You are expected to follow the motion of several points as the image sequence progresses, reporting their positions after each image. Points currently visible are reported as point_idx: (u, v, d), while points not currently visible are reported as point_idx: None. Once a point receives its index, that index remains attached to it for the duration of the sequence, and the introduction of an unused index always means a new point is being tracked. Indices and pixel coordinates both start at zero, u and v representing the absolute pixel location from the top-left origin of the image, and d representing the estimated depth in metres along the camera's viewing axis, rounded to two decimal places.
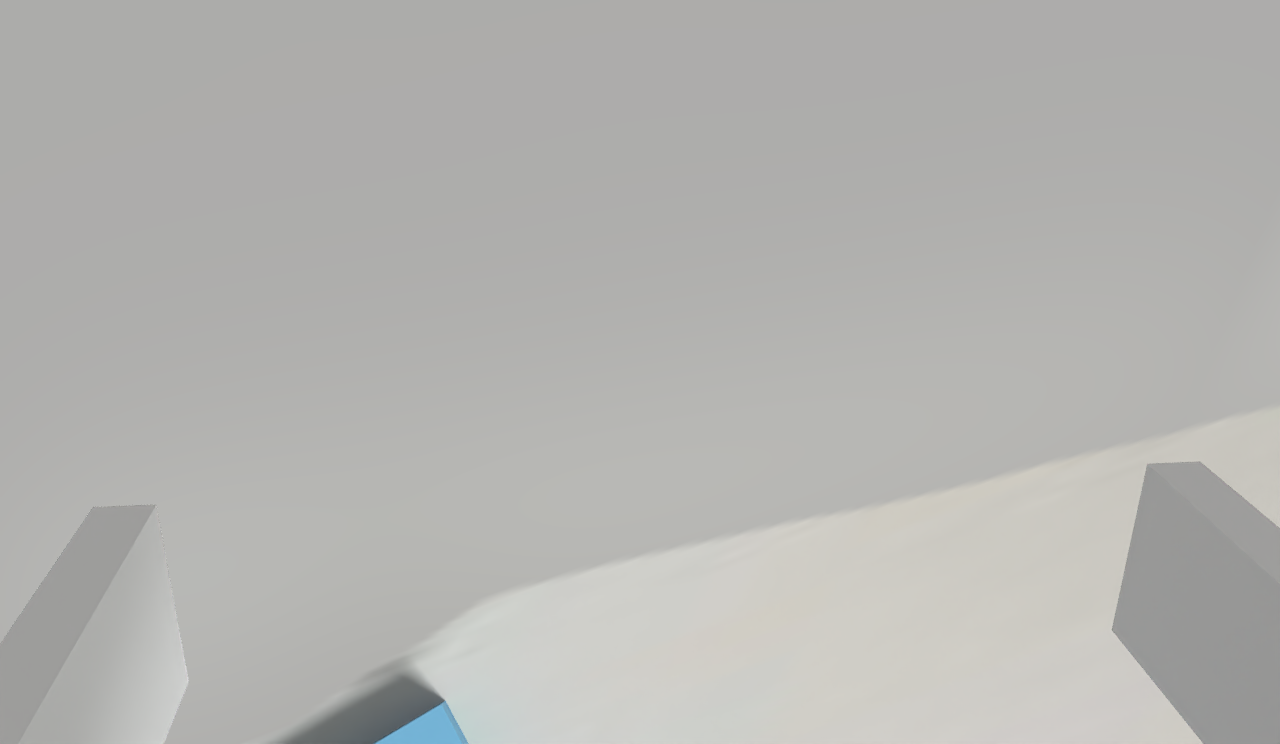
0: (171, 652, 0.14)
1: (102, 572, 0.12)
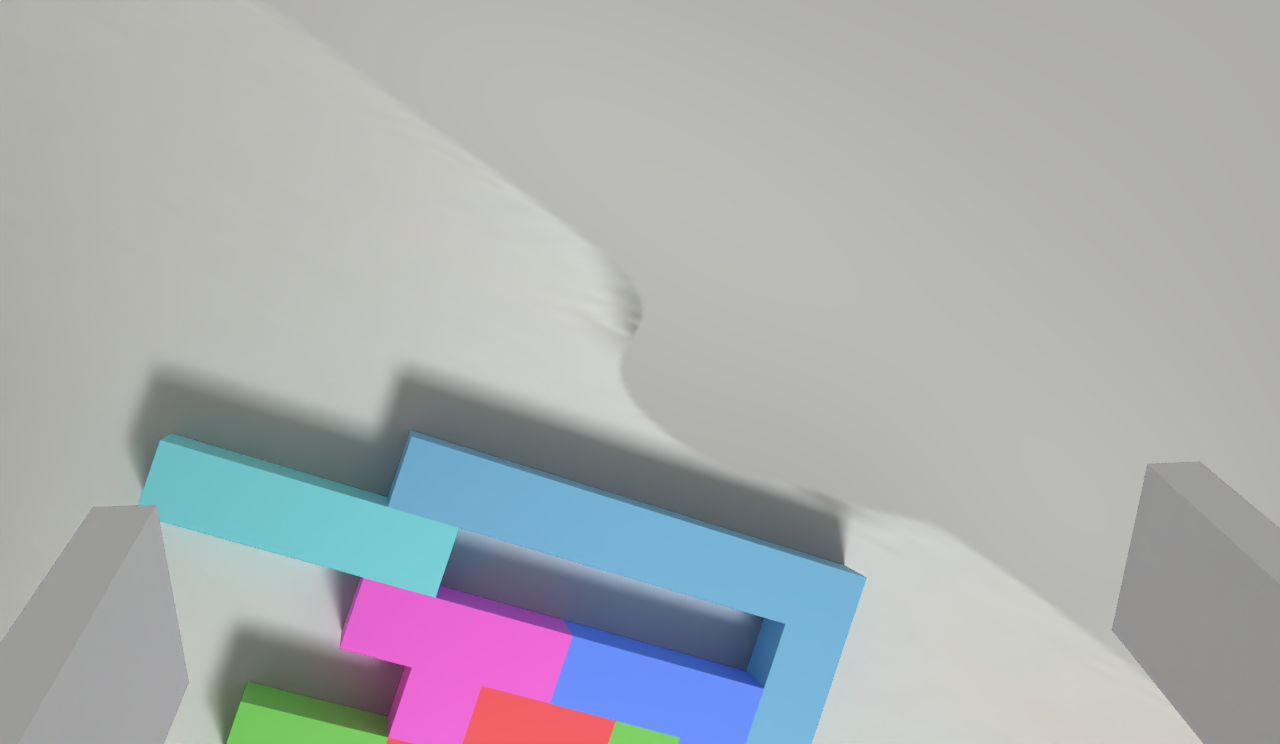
0: (170, 652, 0.14)
1: (102, 572, 0.12)
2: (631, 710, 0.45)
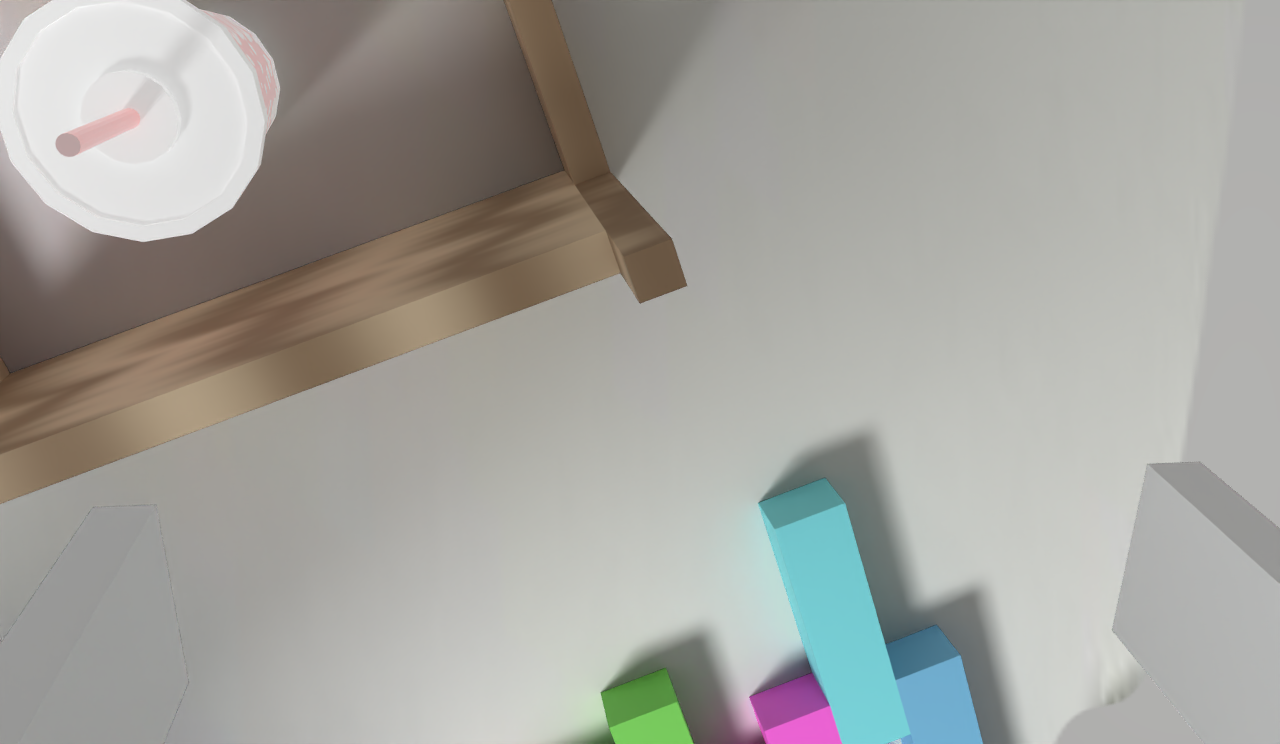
0: (169, 652, 0.14)
1: (102, 572, 0.12)
2: None
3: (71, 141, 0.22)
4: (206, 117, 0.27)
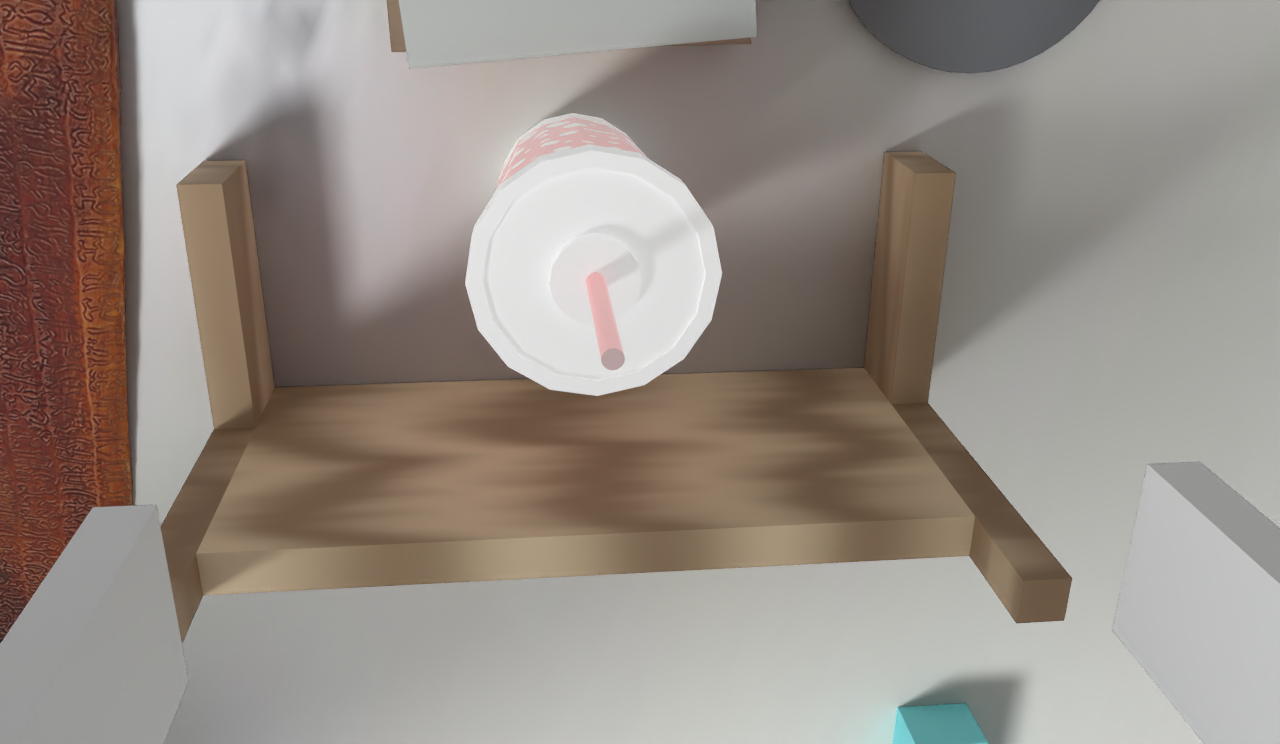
0: (169, 652, 0.14)
1: (103, 573, 0.12)
2: None
3: (618, 356, 0.22)
4: (658, 299, 0.27)
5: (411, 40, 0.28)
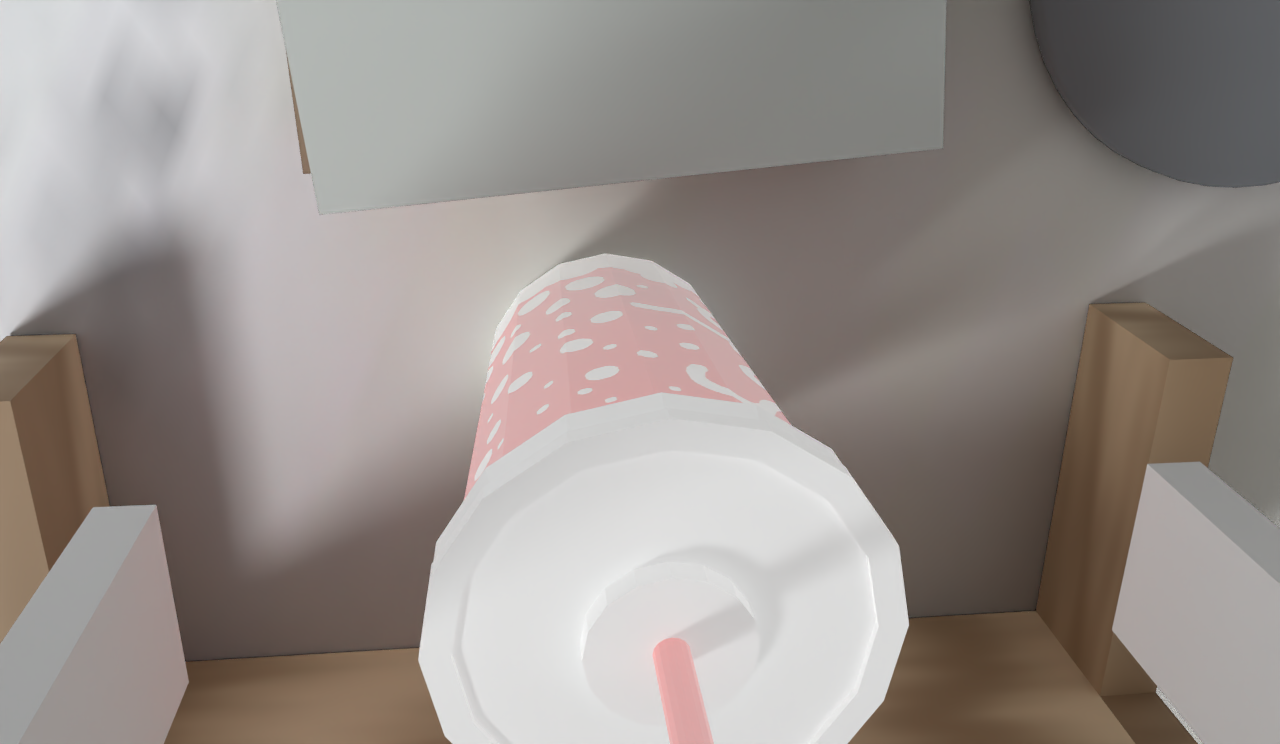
0: (170, 651, 0.14)
1: (103, 571, 0.12)
2: None
3: None
4: (787, 667, 0.14)
5: (321, 165, 0.16)
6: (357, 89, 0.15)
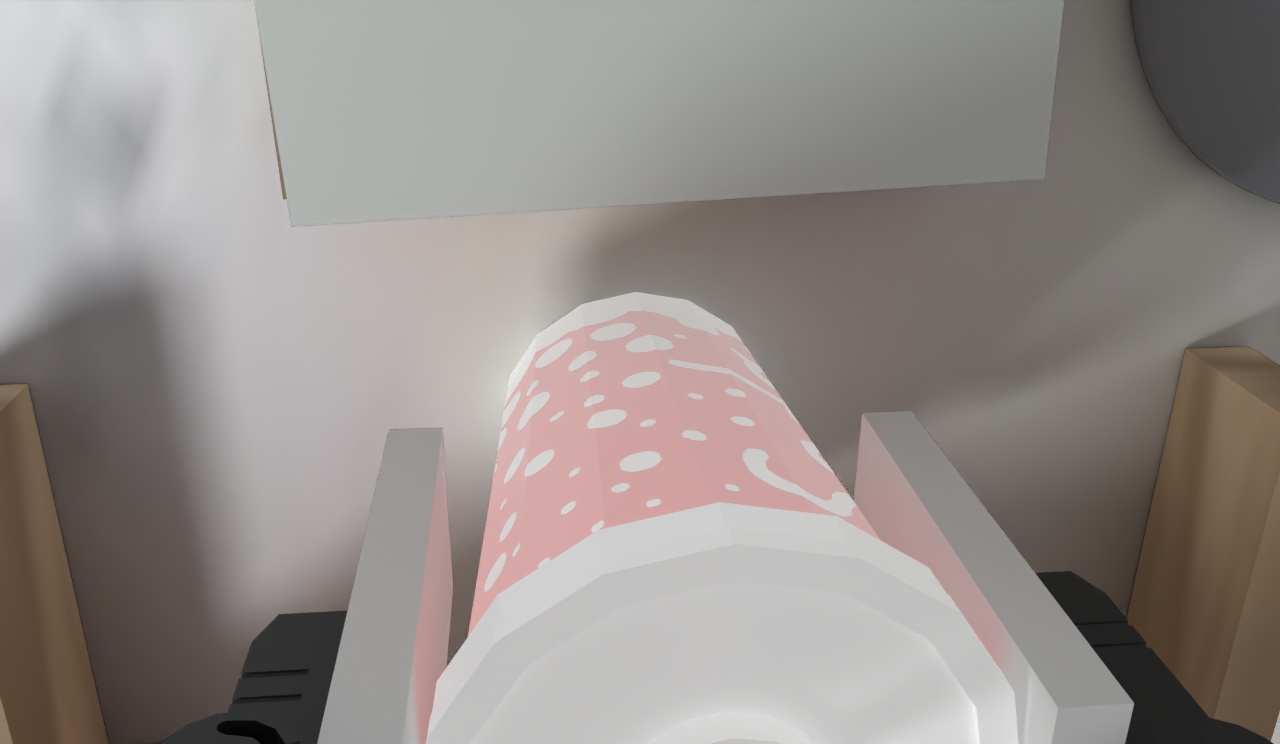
0: (448, 558, 0.16)
1: (424, 478, 0.15)
2: None
3: None
4: None
5: (296, 167, 0.13)
6: (343, 74, 0.12)
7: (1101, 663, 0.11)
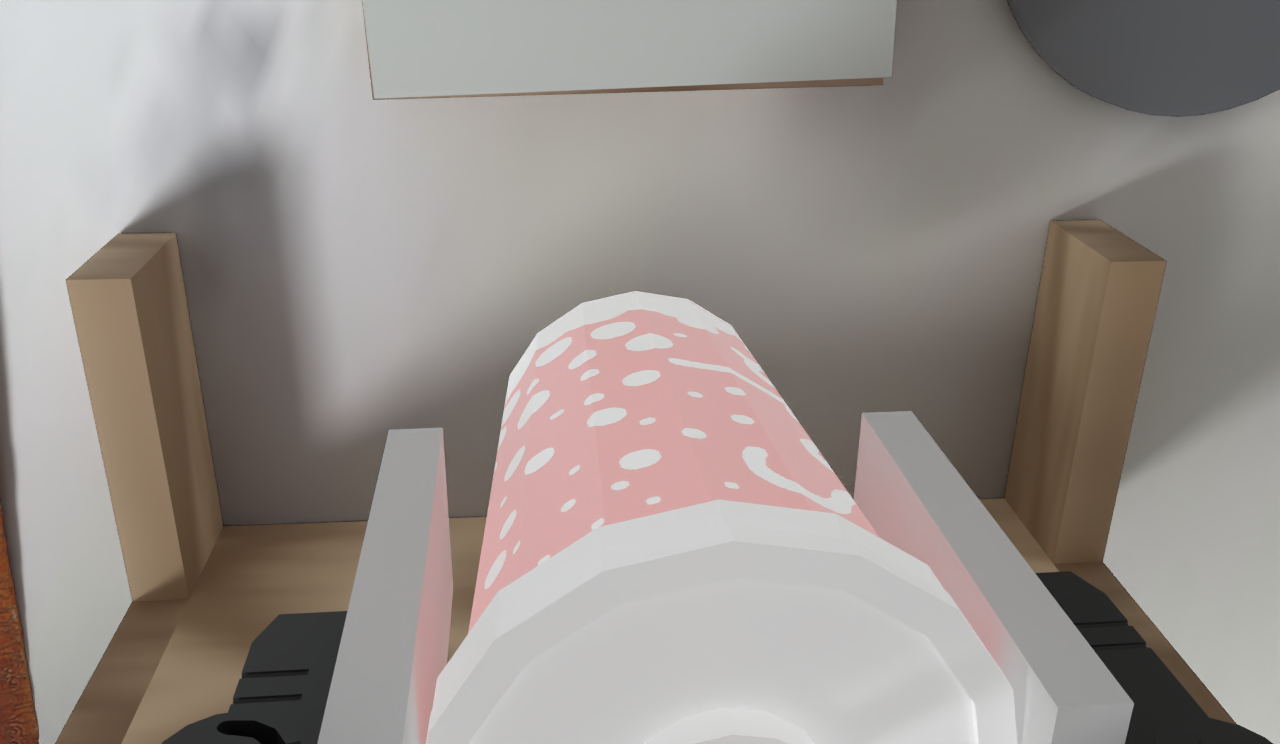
0: (449, 558, 0.16)
1: (424, 477, 0.15)
2: None
3: None
4: None
5: (379, 57, 0.19)
6: None
7: (1101, 663, 0.11)
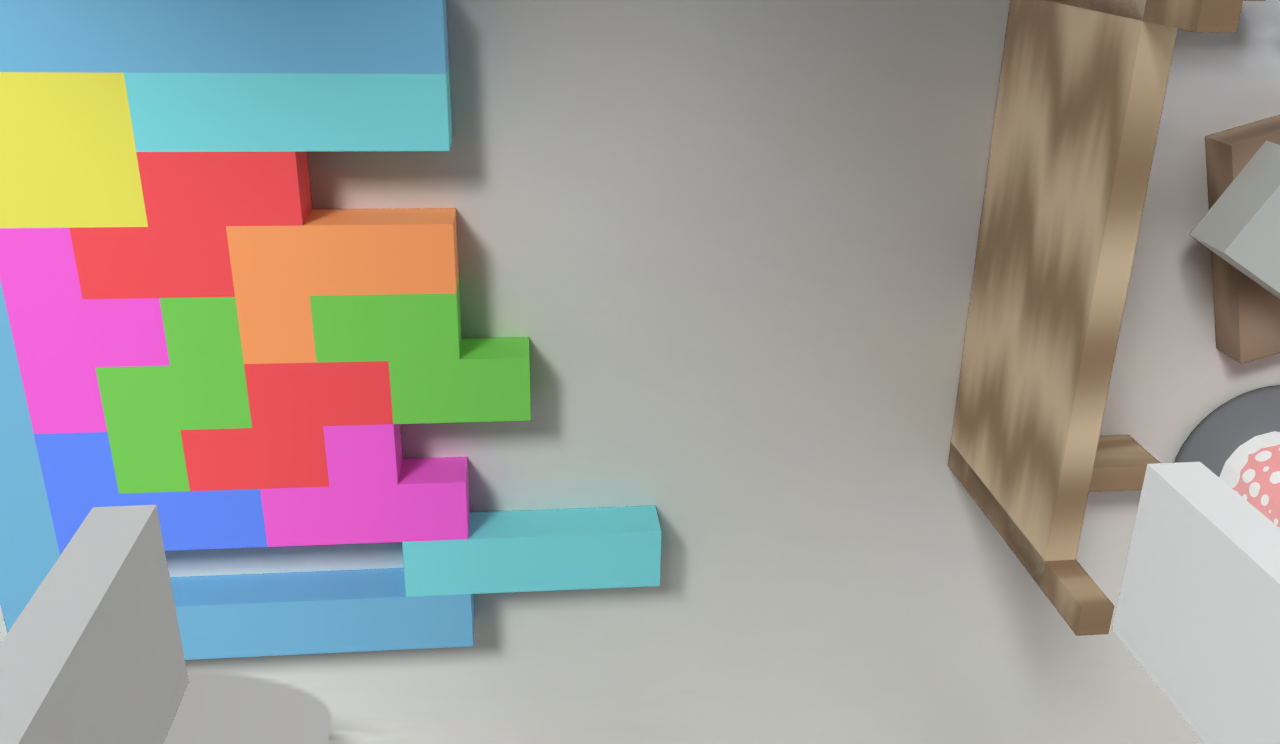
0: (170, 651, 0.14)
1: (102, 571, 0.12)
2: (179, 503, 0.46)
3: None
4: None
5: (1238, 240, 0.44)
6: (1267, 228, 0.44)
7: None
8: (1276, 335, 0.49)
